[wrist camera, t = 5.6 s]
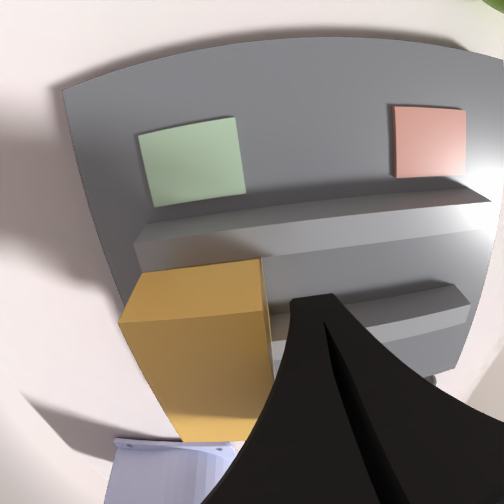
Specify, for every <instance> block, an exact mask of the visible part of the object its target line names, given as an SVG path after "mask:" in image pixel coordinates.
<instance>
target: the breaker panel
mask: <svg viewBox="0 0 504 504" xmlns="http://www.w3.org/2000/svg"><path fill="white" fill-rule="evenodd" d="M63 96H64V102H65V108H66V113H67V119H68V124H69V129H70V133H71V138H72V143H73V147H74V151H75V156H76V160H77V164H78V168H79V172H80V176H81V179H82V183H83V187H84V190H85V194H86V197H87V201H88V204H89V208H90V211H91V214H92V217H93V221H94V224H95V227H96V230H97V233H98V236H99V239H100V242H101V245H102V248H103V251H104V254H105V256H106V259H107V262H108V265H109V267H110V270H111V273H112V276H113V278H114V281H115V283H116V286H117V288H118V291H119V294H120V296H121V298H122V301H123V303H124V306H126V304H127V302H128V300H129V298H130V296H131V294H132V292H133V290H134V288H135V286H136V284H137V282H138V280H139V278H140V276H141V274H142V273H147V272H155V271H163V270H169V269H173V268H182V267H190V266H198V265H206V264H214V263H223V262H231V261H239V260H247V259H255V258H262V265H263V273H264V280H265V288H266V295H267V303H268V310H269V319H270V330H271V340H272V351H273V362H274V371H275V378H276V375H277V372H278V369H279V366H280V363H281V359H282V356H283V353H284V349H285V344H286V340H287V335H288V330H289V323H290V305H289V302H290V301H291V300H292V299H293V298H300V297H307V296H314V295H321V294H328V293H333V294H334V295H336V296H337V298H338V299H339V300H340V301H341V302H342V303H343V304H344V306H345V307H346V308H347V309H348V310H349V311H350V312H351V313H352V314H353V315H354V316H355V318H356V319H357V320H358V321H359V322H360V323H361V324H362V325H363V326H364V327H365V328H366V329H367V330H368V331H369V332H370V333H371V334H372V335H373V336H374V337H375V338H376V339H377V340H378V341H380V342H381V343H382V344H383V345H384V346H385V347H386V348H387V349H388V350H389V351H391V352H392V353H393V354H394V355H395V356H396V357H397V358H399V359H400V360H401V361H402V362H403V363H405V364H406V365H407V366H408V367H410V368H411V369H412V370H414V371H415V372H416V373H418V374H419V375H420V376H422V377H423V378H424V379H426V380H427V381H429V382H430V383H432V384H433V385H435V386H436V378H435V376H434V374H438V373H441V372H444V371H447V370H450V369H453V368H455V367H456V364H457V362H458V359H459V357H460V354H461V352H462V349H463V347H464V344H465V341H466V339H467V336H468V333H469V331H470V328H471V325H472V322H473V319H474V316H475V313H476V310H477V307H478V303H479V300H480V297H481V293H482V290H483V286H484V282H485V279H486V275H487V271H488V267H489V263H490V259H491V254H492V250H493V245H494V240H495V235H496V229H497V224H498V218H499V211H500V205H501V197H502V189H503V180H504V63H503V60H501V59H498V58H494V57H490V56H486V55H482V54H478V53H474V52H470V51H465V50H460V49H455V48H450V47H445V46H439V45H433V44H426V43H419V42H411V41H403V40H393V39H380V38H364V37H300V38H283V39H270V40H260V41H251V42H242V43H235V44H228V45H222V46H215V47H210V48H204V49H199V50H194V51H189V52H184V53H179V54H175V55H171V56H166V57H162V58H158V59H154V60H150V61H147V62H143V63H140V64H136V65H133V66H129V67H126V68H123V69H119V70H116V71H113V72H110V73H107V74H104V75H101V76H98V77H96V78H93V79H90V80H87V81H85V82H82V83H79V84H77V85H74V86H72V87H69V88H67V89H64V90H63Z"/></svg>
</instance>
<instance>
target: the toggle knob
mask: <svg viewBox="0 0 504 504" xmlns="http://www.w3.org/2000/svg"><path fill="white" fill-rule="evenodd" d="M118 325H119V327H120V329H121V331H122V333H123V335H124V337H125V340H126V342H127V344H128V346H129V348H130V350H131V352H132V354H133V356H134V358H135V360H136V362H137V364H138V365H139V367H140V369H141V371H142V373H143V375H144V377H145V379H146V380H147V382H148V384H149V386H150V388H151V389H152V391H153V393H154V395H155V397H156V398H157V400H158V402H159V403H160V405H161V407H162V409H163V410H164V412H165V414H166V415H167V417H168V419H169V420H170V422H171V423H172V425H173V427H174V428H175V430H176V431H177V433H178V435H179V436H180V438H181V439H182V441H183V442H230V441H246V440H247V438H248V436H249V434H250V433H251V431H252V429H253V427H254V425H255V423H256V421H257V419H258V417H259V415H260V413H261V411H262V409H263V407H264V405H265V403H266V400H267V398H268V396H269V393H270V391H271V389H272V386H273V383H274V381H275V371H274V362H273V351H272V340H271V330H270V319H269V310H268V303H267V295H266V288H265V280H264V273H263V265H262V258H255V259H247V260H239V261H231V262H223V263H214V264H206V265H198V266H190V267H182V268H173V269H169V270H163V271H155V272H147V273H142V274H141V276H140V278H139V280H138V282H137V284H136V286H135V288H134V290H133V292H132V294H131V296H130V298H129V300H128V302H127V304H126V306H125V309H124V311H123V313H122V315H121V317H120V319H119V321H118Z"/></svg>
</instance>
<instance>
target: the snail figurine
mask: <svg viewBox="0 0 504 504" xmlns="http://www.w3.org/2000/svg"><path fill="white" fill-rule="evenodd" d="M483 1H484V2H485V3H487V4H488V5H489V6H491V7H493V8H494V9H496V10H498V11H500V12H501V13H504V0H483Z"/></svg>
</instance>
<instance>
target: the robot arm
mask: <svg viewBox="0 0 504 504" xmlns="http://www.w3.org/2000/svg"><path fill="white" fill-rule="evenodd" d="M289 305H290V323H289V330H288V335H287V340H286V344H285V349H284V353H283V356H282V359H281V363H280V366H279V369H278V372H277V375H276V378H275V381H274V383H273V386H272V389H271V391H270V393H269V396H268V398H267V400H266V403H265V405H264V407H263V409H262V411H261V413H260V415H259V417H258V419H257V421H256V423H255V425H254V427H253V429H252V431H251V433H250V434H249V436H248V438H247V440H246V441H245V443H244V445H243V446H242V448H241V450H240V451H239V453H238V454H237V453H236V450H235V448H234V445H233V444H232V443H230V442H164V441H146V440H133V439H122V438H115V439H114V441H113V443H114V445H115V446H116V447H117V450H116V454H115V458H114V462H113V466H112V470H111V474H110V478H109V482H108V487H107V491H106V495H105V500H104V504H504V422H502V421H499V420H497V419H495V418H492V417H490V416H488V415H486V414H484V413H481V412H480V411H477V410H475V409H474V408H472V407H470V406H468V405H466V404H464V403H463V402H461V401H459V400H458V399H456V398H454V397H452V396H451V395H449V394H447V393H446V392H444V391H442V390H440V389H439V388H437V387H436V386H435V385H433V384H432V383H430V382H429V381H427V380H426V379H424V378H423V377H422V376H420V375H419V374H418V373H416V372H415V371H414V370H412V369H411V368H410V367H408V366H407V365H406V364H405V363H403V362H402V361H401V360H400V359H399V358H397V357H396V356H395V355H394V354H393V353H392V352H391V351H389V350H388V349H387V348H386V347H385V346H384V345H383V344H382V343H381V342H380V341H378V340H377V339H376V338H375V337H374V336H373V335H372V334H371V333H370V332H369V331H368V330H367V329H366V328H365V327H364V326H363V325H362V324H361V323H360V322H359V321H358V320H357V319H356V318H355V316H354V315H353V314H352V313H351V312H350V311H349V310H348V309H347V308H346V307H345V306H344V304H343V303H342V302H341V301H340V300H339V299H338V298H337V296H336V295H334V294H333V293H328V294H321V295H314V296H307V297H300V298H293V299H292V300H291V301H290V302H289Z"/></svg>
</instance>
